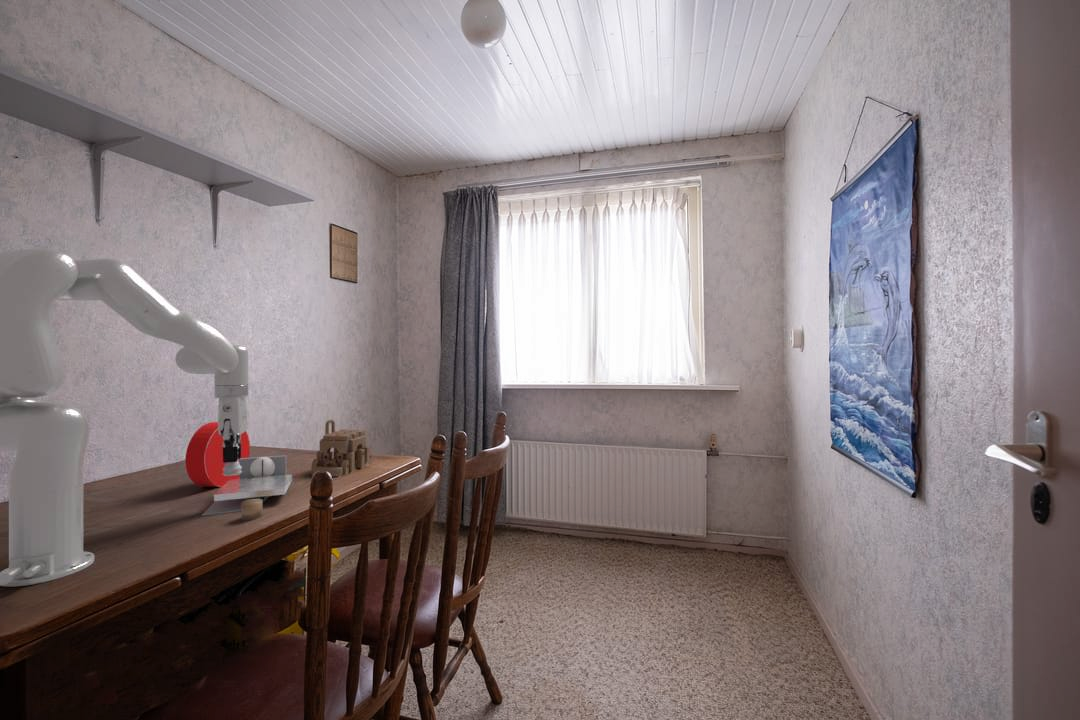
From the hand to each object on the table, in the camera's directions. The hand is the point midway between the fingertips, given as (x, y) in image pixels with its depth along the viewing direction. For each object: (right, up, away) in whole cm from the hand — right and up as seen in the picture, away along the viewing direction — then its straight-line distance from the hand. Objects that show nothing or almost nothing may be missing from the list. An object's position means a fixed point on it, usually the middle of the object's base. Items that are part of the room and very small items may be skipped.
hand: (232, 459), depth 123 cm
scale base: (+3, -13, +5) cm, 14 cm away
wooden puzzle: (+13, -13, +39) cm, 44 cm away
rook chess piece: (0, -4, 0) cm, 4 cm away
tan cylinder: (+11, -13, -10) cm, 20 cm away
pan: (+3, -12, +5) cm, 14 cm away
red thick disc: (-19, -13, +22) cm, 32 cm away
